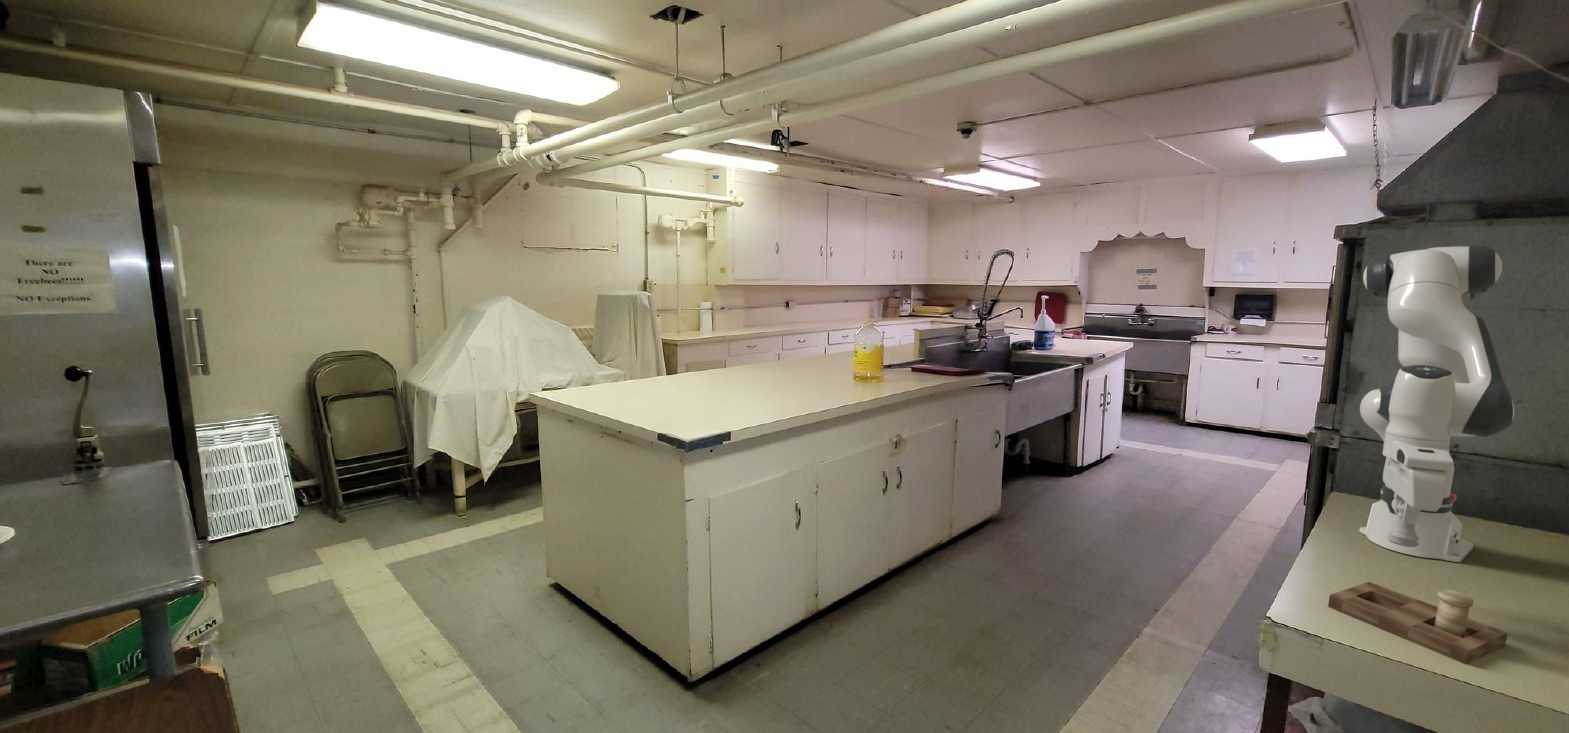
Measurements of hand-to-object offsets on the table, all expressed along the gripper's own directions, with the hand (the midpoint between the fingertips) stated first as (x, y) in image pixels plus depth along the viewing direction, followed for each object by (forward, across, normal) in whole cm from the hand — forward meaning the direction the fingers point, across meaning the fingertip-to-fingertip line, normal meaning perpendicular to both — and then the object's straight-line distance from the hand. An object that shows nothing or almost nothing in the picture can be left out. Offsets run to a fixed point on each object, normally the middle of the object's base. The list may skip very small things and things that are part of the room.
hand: (1404, 519), depth 123 cm
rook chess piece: (+5, 0, 0) cm, 5 cm away
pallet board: (+18, +7, +1) cm, 20 cm away
